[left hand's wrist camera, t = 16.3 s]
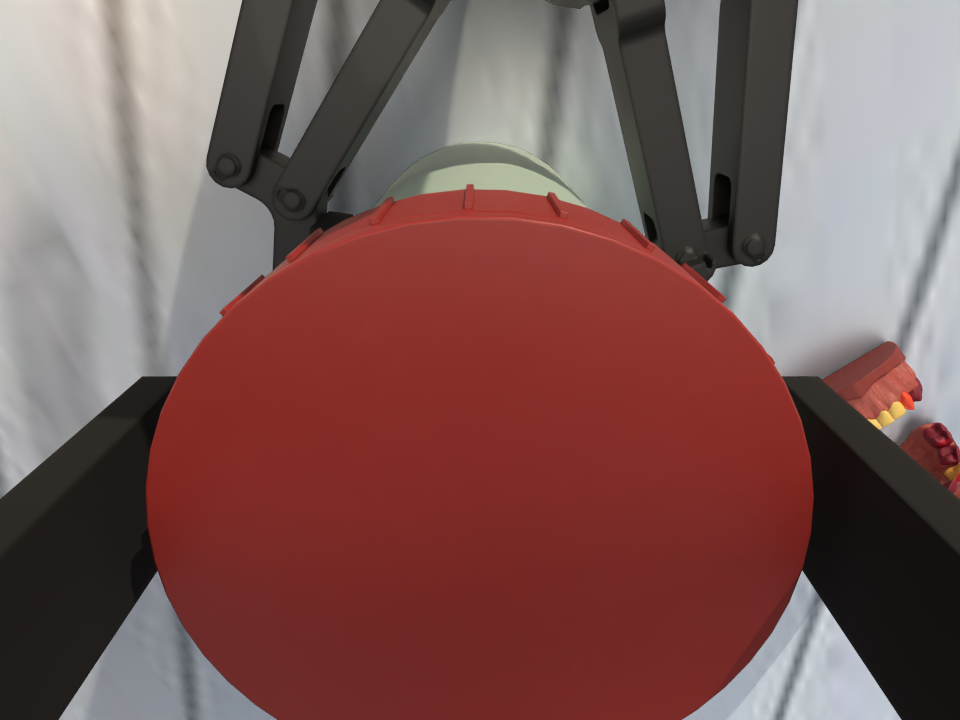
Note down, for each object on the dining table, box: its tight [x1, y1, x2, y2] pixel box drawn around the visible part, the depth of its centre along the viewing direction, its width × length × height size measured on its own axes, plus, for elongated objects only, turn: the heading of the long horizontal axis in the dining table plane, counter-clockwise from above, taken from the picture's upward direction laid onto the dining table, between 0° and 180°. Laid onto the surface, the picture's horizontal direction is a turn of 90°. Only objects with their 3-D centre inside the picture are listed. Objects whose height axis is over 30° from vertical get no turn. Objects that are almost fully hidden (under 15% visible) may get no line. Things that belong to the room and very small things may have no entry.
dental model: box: [822, 341, 960, 499], centre depth 28 cm, size 6×4×8 cm
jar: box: [371, 142, 587, 209], centre depth 19 cm, size 9×9×18 cm
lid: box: [146, 184, 814, 720], centre depth 11 cm, size 10×10×2 cm
